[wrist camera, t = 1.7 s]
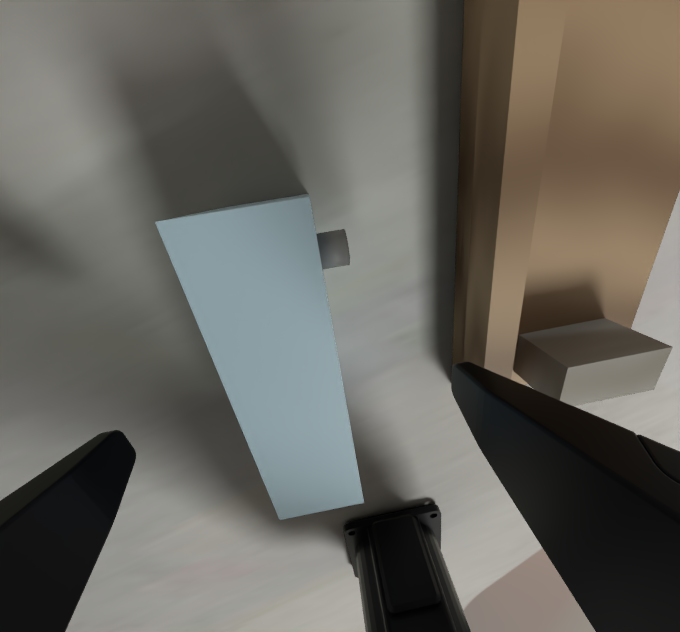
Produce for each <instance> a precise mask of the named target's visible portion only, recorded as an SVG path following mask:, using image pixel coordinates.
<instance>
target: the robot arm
mask: <svg viewBox="0 0 680 632" xmlns="http://www.w3.org/2000/svg"><path fill="white" fill-rule="evenodd" d="M451 388H452V393H453V396H454V398H455V400H456V402H457V404H458V406H459V408H460V410H461V412H462V414H463V416H464V418H465V420H466V422H467V424H468V426H469V428H470V430H471V432H472V434H473V436H474V438H475V440H476V442H477V444H478V446H479V448H480V449H481V451H482V453H483V454H484V456H485V457H486V459H487V461H488V462H489V464H490V465H491V467H492V469H493V470H494V472H495V473H496V475H497V476H498V478H499V480H500V481H501V483H502V484H503V486H504V487H505V489H506V491H507V492H508V494H509V495H510V497H511V499H512V500H513V502H514V503H515V505H516V506H517V508H518V510H519V511H520V513H521V514H522V516H523V517H524V519H525V521H526V522H527V524H528V525H529V527H530V529H531V530H532V532H533V533H534V535H535V536H536V538H537V540H538V541H539V543H540V544H541V546H542V547H543V549H544V551H545V552H546V554H547V555H548V557H549V559H550V560H551V562H552V563H553V565H554V566H555V568H556V570H557V571H558V573H559V574H560V576H561V577H562V579H563V581H564V582H565V584H566V585H567V587H568V588H569V590H570V591H571V593H572V594H573V596H574V598H575V600H576V601H577V603H578V604H579V606H580V607H581V609H582V610H583V612H584V613H585V615H586V617H587V618H588V620H589V622H590V623H591V625H592V626H593V628H594V629H595V631H596V632H680V451H677V450H675V449H672V448H670V447H668V446H665V445H663V444H661V443H658V442H656V441H654V440H651V439H649V438H647V437H644V436H642V435H636V434H635V433H634V432H632V431H630V430H628V429H625V428H623V427H621V426H618V425H616V424H614V423H611V422H609V421H607V420H604V419H602V418H600V417H597V416H595V415H593V414H590V413H588V412H586V411H583V410H581V409H579V408H576V407H574V406H572V405H569V404H567V403H565V402H562V401H560V400H558V399H555V398H553V397H551V396H548V395H546V394H544V393H541V392H539V391H537V390H534V389H532V388H530V387H527V386H525V385H523V384H520V383H518V382H516V381H513V380H511V379H509V378H506V377H504V376H502V375H499V374H497V373H495V372H492V371H490V370H488V369H485V368H483V367H481V366H478V365H476V364H474V363H471V362H468V361H466V362H461V363H456V364H454V365H453V367H452V383H451ZM135 460H136V452H135V449H134V448H133V446H132V445H131V444H130V442H129V441H128V439H127V438H126V436H125V435H124V433H123V432H121V431H119V430H114V431H109V432H104V433H101V434H99V435H97V436H96V437H94V438H93V439H91V440H90V441H88V442H87V443H85V444H84V445H82V446H81V447H79V448H78V449H76V450H75V451H73V452H72V453H70V454H69V455H68V456H66V457H65V458H63V459H62V460H60V461H59V462H57V463H56V464H54V465H53V466H51V467H50V468H48V469H47V470H45V471H44V472H42V473H41V474H39V475H38V476H36V477H35V478H33V479H32V480H31V481H29V482H28V483H26V484H25V485H23V486H22V487H20V488H19V489H17V490H16V491H14V492H13V493H11V494H10V495H8V496H7V497H5V498H4V499H2V500H1V501H0V632H65V631H66V629H67V627H68V624H69V622H70V620H71V618H72V615H73V613H74V611H75V609H76V606H77V604H78V602H79V600H80V597H81V595H82V593H83V591H84V588H85V586H86V584H87V582H88V579H89V577H90V575H91V573H92V570H93V568H94V566H95V564H96V561H97V559H98V557H99V555H100V552H101V550H102V548H103V546H104V543H105V541H106V539H107V537H108V534H109V532H110V530H111V527H112V525H113V522H114V520H115V517H116V514H117V512H118V509H119V506H120V503H121V500H122V497H123V495H124V492H125V489H126V486H127V483H128V480H129V477H130V475H131V472H132V469H133V466H134V463H135ZM344 536H345V540H346V544H347V547H348V551H349V555H350V559H351V563H352V566H353V570H354V574H355V576H356V577H357V578H359V584H360V592H361V599H362V607H363V614H364V622H365V629H366V632H471V631H470V628H469V625H468V623H467V620H466V617H465V615H464V612H463V609H462V606H461V604H460V601H459V598H458V596H457V593H456V590H455V588H454V585H453V582H452V580H451V577H450V574H449V571H448V569H447V566H446V563H445V561H444V558H443V555H442V553H441V512H440V510H439V508H438V506H437V505H428V506H423V507H419V508H414V509H409V510H405V511H400V512H395V513H391V514H386V515H381V516H377V517H372V518H367V519H363V520H358V521H353V522H349V523H347V524H345V525H344Z"/></svg>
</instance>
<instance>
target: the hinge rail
mask: <svg viewBox="0 0 680 632" xmlns="http://www.w3.org/2000/svg"><path fill="white" fill-rule="evenodd" d="M679 190H680V0H464V20H463V51H462V82H461V113H460V144H459V175H458V205H457V236H456V267H455V298H454V329H453V360H452V367H453V365H454V364H456V363H461V362H466V361H468V362H471V363H474V364H476V365H478V366H481V367H483V368H485V369H488V370H490V371H492V372H495V373H497V374H499V375H502V376H504V377H506V378H509V379H511V380H513V381H516V382H518V383H520V384H523V385H526V384H529V385H530V386H531V387H532V388H534V389H535V390H537V391H539V392H541V393H544V394H546V395H548V396H551V397H553V398H555V399H558V400H560V401H562V402H565V403H567V404H569V405H572V406H576V405H581V404H586V403H591V402H596V401H600V400H605V399H610V398H615V397H620V396H625V395H630V394H635V393H639V392H644V391H649V390H654V388H655V386H656V383H657V381H658V379H659V377H660V374H661V372H662V370H663V368H664V365H665V363H666V361H667V359H668V356H669V354H670V352H671V350H672V347H671V346H669V345H667V344H664V343H662V342H660V341H657V340H655V339H653V338H650V337H648V336H646V335H643V334H641V333H639V332H636V331H634V330H632V329H631V326H632V323H633V321H634V318H635V315H636V312H637V309H638V306H639V304H640V301H641V298H642V295H643V292H644V289H645V287H646V284H647V281H648V278H649V275H650V272H651V270H652V267H653V264H654V261H655V258H656V255H657V253H658V250H659V247H660V244H661V241H662V238H663V235H664V233H665V230H666V227H667V224H668V221H669V218H670V216H671V213H672V210H673V207H674V204H675V201H676V199H677V196H678V193H679Z"/></svg>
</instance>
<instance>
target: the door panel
mask: <svg viewBox="0 0 680 632" xmlns="http://www.w3.org/2000/svg"><path fill="white" fill-rule="evenodd" d="M155 223H156V226H157V228H158V231H159V233H160V235H161V238H162V240H163V242H164V245H165V247H166V250H167V252H168V254H169V257H170V259H171V262H172V264H173V266H174V269H175V271H176V274H177V276H178V278H179V281H180V283H181V285H182V288H183V290H184V293H185V295H186V297H187V300H188V302H189V305H190V307H191V309H192V312H193V314H194V317H195V319H196V321H197V324H198V326H199V329H200V331H201V333H202V336H203V338H204V340H205V343H206V345H207V348H208V350H209V352H210V355H211V357H212V360H213V362H214V364H215V367H216V369H217V372H218V374H219V376H220V379H221V381H222V384H223V386H224V388H225V391H226V393H227V395H228V398H229V400H230V403H231V405H232V407H233V410H234V412H235V415H236V417H237V419H238V422H239V424H240V427H241V429H242V431H243V434H244V436H245V438H246V441H247V443H248V446H249V448H250V450H251V453H252V455H253V458H254V460H255V462H256V465H257V467H258V470H259V472H260V474H261V477H262V479H263V482H264V484H265V486H266V489H267V491H268V493H269V496H270V498H271V501H272V503H273V505H274V508H275V510H276V513H277V515H278V517H279V520H283V519H288V518H293V517H298V516H303V515H307V514H312V513H317V512H322V511H327V510H331V509H336V508H341V507H346V506H351V505H356V504H360V503H364V500H363V494H362V488H361V483H360V477H359V471H358V466H357V460H356V455H355V449H354V443H353V438H352V432H351V427H350V421H349V415H348V410H347V404H346V399H345V393H344V387H343V382H342V376H341V370H340V365H339V359H338V354H337V348H336V342H335V337H334V331H333V326H332V320H331V314H330V309H329V303H328V297H327V292H326V286H325V281H324V275H323V269H328V268H333V267H339V266H345V265H350V255H349V247H348V241H347V236H346V233H345V230H344V229H342V230H336V231H330V232H324V233H318V234H316V230H315V224H314V219H313V213H312V208H311V202H310V197H309V194H304V195H298V196H292V197H285V198H279V199H273V200H267V201H261V202H255V203H249V204H242V205H236V206H230V207H224V208H219V209H214V210H210V211H205V212H200V213H195V214H190V215H186V216H181V217H176V218H171V219H166V220H162V221H157V222H155Z"/></svg>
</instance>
